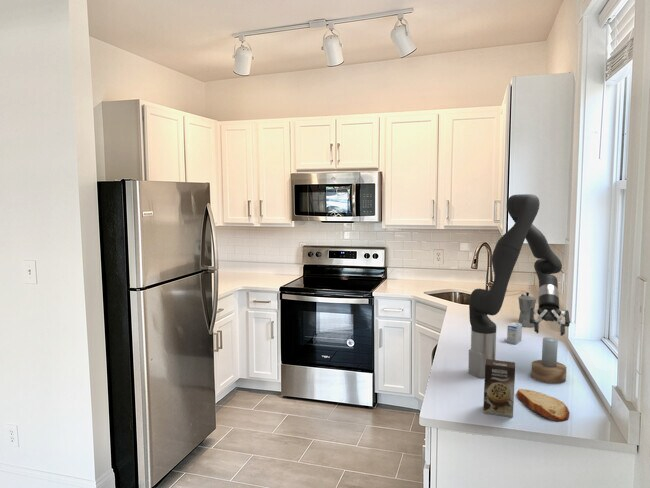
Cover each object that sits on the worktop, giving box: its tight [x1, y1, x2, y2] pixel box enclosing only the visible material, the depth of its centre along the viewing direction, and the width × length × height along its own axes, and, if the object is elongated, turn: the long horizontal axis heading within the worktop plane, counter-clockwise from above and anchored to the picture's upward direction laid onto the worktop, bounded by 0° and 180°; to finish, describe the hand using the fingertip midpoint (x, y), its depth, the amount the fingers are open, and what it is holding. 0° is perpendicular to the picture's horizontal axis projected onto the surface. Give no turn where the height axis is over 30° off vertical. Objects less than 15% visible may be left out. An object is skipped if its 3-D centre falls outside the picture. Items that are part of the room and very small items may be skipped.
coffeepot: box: [517, 292, 537, 329], centre depth 256 cm, size 15×9×18 cm, turn 176°
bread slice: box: [515, 388, 570, 423], centre depth 156 cm, size 18×18×4 cm
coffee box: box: [482, 359, 516, 418], centre depth 152 cm, size 9×6×16 cm
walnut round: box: [530, 359, 567, 384], centre depth 181 cm, size 12×12×5 cm
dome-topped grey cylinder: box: [541, 336, 559, 367], centre depth 181 cm, size 5×5×10 cm
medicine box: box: [506, 321, 523, 345], centre depth 226 cm, size 8×4×9 cm, turn 141°
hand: (549, 333), depth 182 cm, fingers open, 8 cm apart
